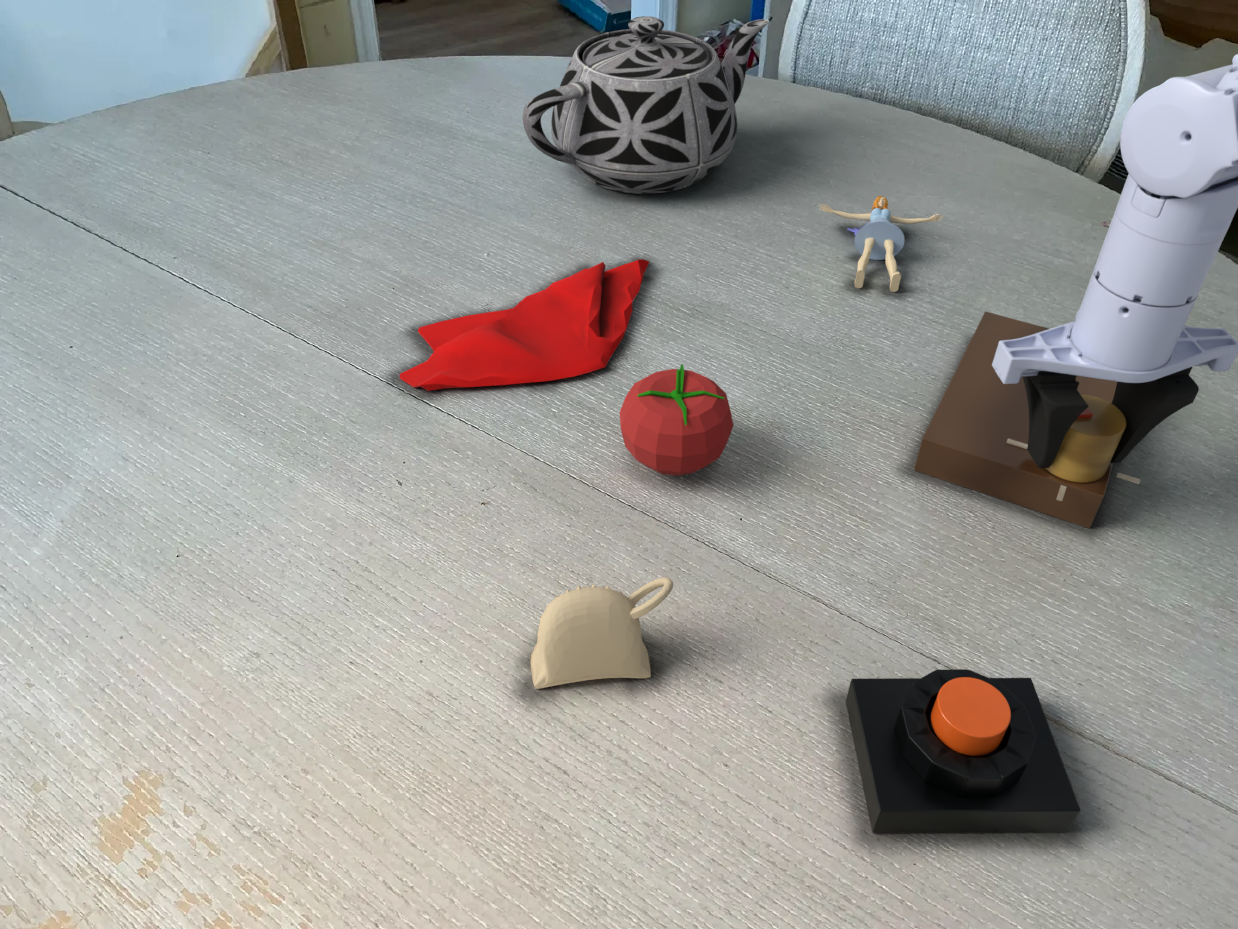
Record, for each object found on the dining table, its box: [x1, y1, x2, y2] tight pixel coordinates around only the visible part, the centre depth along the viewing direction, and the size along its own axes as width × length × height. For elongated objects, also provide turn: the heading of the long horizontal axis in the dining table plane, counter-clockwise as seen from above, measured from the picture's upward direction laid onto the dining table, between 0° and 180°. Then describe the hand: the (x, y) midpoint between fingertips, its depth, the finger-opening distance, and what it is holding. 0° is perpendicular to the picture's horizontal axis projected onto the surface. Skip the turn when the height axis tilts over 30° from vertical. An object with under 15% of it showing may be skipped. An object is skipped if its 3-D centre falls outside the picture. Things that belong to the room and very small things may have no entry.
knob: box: [1045, 394, 1126, 483], centre depth 67 cm, size 4×4×4 cm
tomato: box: [619, 363, 735, 477], centre depth 70 cm, size 8×8×8 cm
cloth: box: [399, 258, 650, 392], centre depth 83 cm, size 26×14×2 cm, turn 124°
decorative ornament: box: [530, 576, 674, 690], centre depth 58 cm, size 4×8×5 cm, turn 95°
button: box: [931, 677, 1011, 756], centre depth 51 cm, size 4×4×2 cm
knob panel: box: [913, 311, 1141, 529], centre depth 74 cm, size 14×20×3 cm
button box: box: [845, 668, 1081, 834], centre depth 53 cm, size 10×8×4 cm
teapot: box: [522, 15, 769, 195], centre depth 103 cm, size 19×31×15 cm, turn 127°
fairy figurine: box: [818, 195, 945, 293], centre depth 92 cm, size 12×5×12 cm
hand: (1074, 455), depth 68 cm, fingers closed on knob, 4 cm apart
